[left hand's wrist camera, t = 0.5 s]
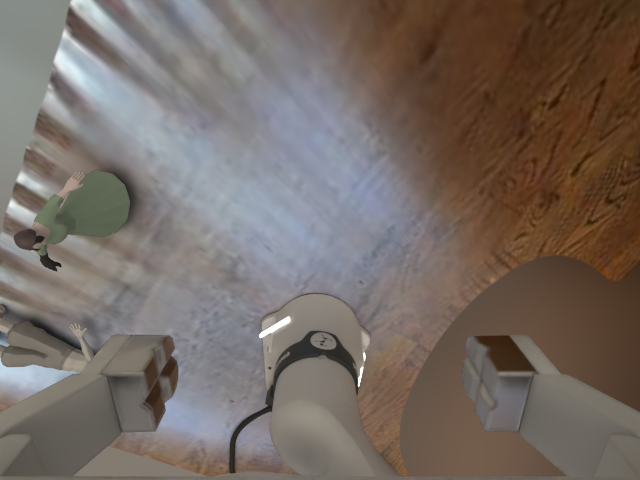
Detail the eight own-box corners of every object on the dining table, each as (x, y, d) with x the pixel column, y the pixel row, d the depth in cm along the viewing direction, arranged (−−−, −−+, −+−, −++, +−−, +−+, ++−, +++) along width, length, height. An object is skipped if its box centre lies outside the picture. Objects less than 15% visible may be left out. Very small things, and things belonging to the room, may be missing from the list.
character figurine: (116, 258, 60) (37, 323, 43) (65, 234, 59) (-37, 290, 42) (153, 173, 55) (80, 209, 38) (98, 144, 54) (-2, 167, 37)
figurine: (-13, 356, 67) (122, 408, 71) (-39, 376, 63) (108, 430, 67) (7, 278, 62) (153, 339, 66) (-19, 293, 57) (140, 358, 61)
